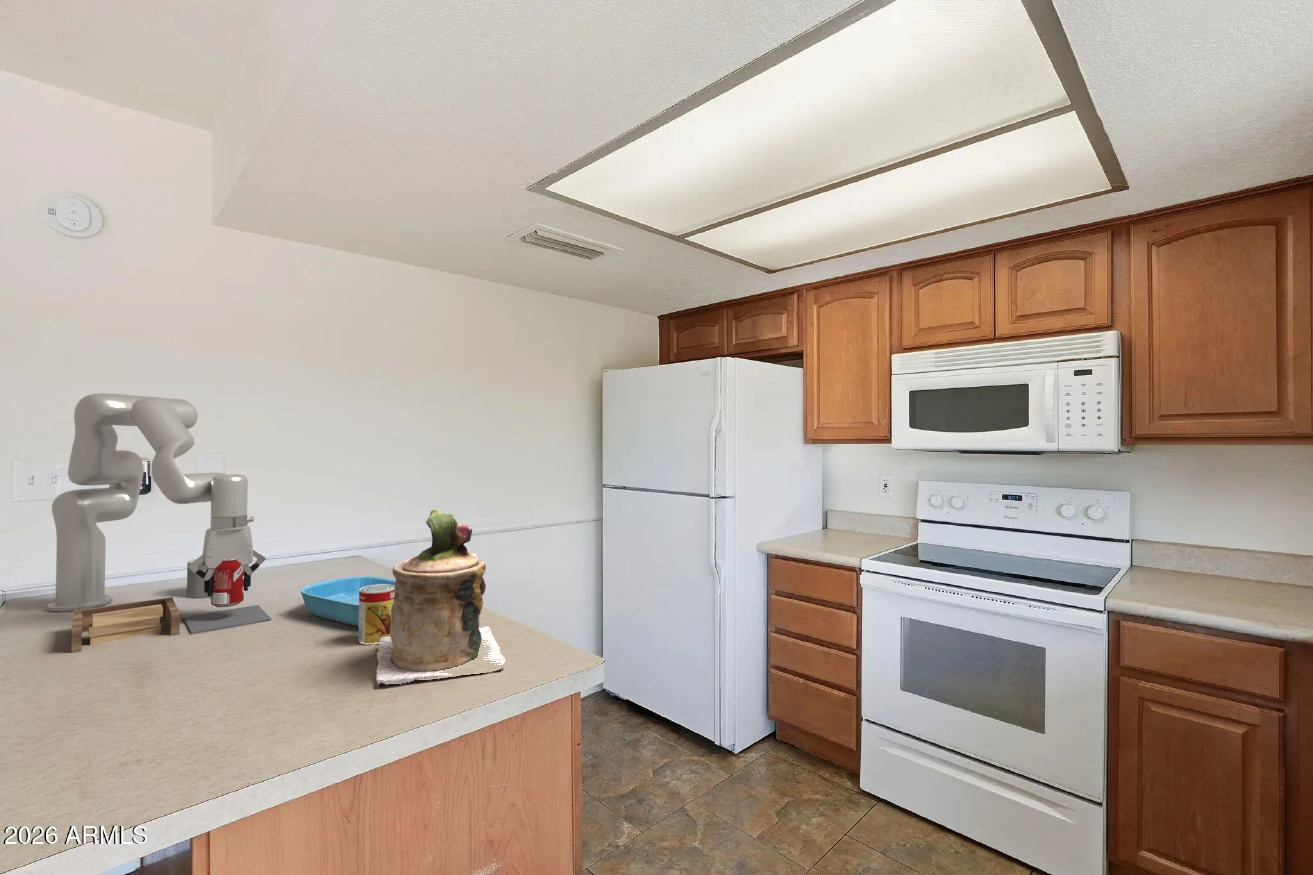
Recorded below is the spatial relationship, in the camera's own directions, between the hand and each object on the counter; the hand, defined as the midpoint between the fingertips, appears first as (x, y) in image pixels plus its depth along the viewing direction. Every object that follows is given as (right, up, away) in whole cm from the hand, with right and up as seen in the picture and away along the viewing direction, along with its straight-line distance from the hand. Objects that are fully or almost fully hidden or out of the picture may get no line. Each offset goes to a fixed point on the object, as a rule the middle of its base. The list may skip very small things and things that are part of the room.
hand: (227, 591), depth 148 cm
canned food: (+44, -8, -13) cm, 47 cm away
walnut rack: (-16, -7, -11) cm, 20 cm away
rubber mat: (0, -7, 0) cm, 7 cm away
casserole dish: (+33, -8, +7) cm, 34 cm away
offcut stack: (-14, -7, -14) cm, 20 cm away
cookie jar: (+63, -8, -24) cm, 68 cm away
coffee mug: (-22, -7, +22) cm, 32 cm away
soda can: (0, -3, 0) cm, 3 cm away
